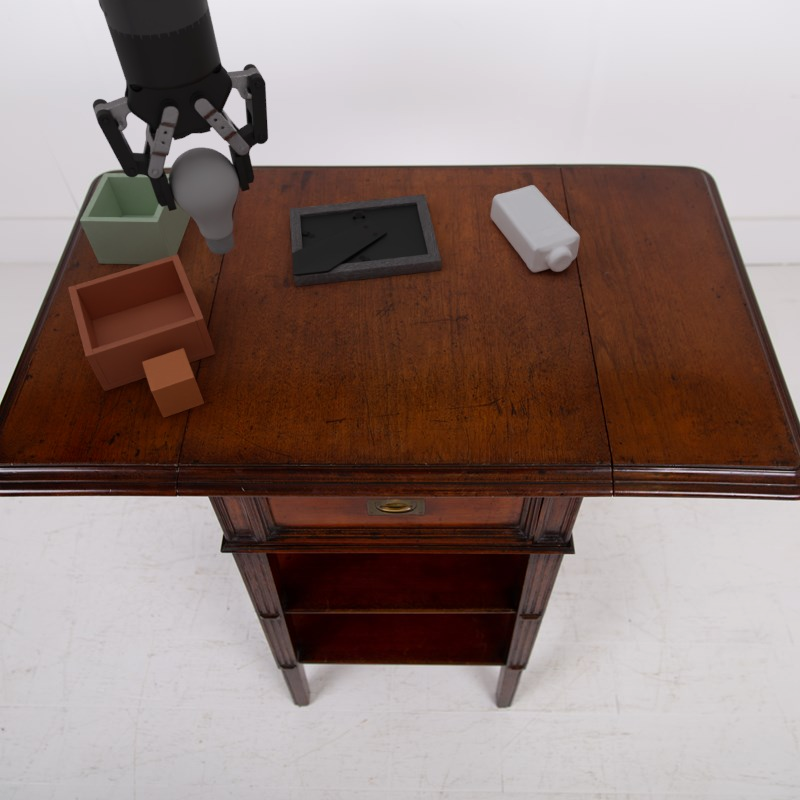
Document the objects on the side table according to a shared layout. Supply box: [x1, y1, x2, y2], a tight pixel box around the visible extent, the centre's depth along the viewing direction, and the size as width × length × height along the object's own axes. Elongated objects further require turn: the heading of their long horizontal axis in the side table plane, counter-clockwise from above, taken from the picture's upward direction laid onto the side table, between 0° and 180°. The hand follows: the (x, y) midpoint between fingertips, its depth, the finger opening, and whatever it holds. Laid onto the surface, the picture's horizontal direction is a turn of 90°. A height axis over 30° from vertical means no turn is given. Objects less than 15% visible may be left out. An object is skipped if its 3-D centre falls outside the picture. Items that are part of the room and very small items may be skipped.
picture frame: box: [289, 193, 442, 287], centre depth 96 cm, size 13×2×18 cm
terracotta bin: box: [67, 253, 216, 392], centre depth 85 cm, size 13×12×6 cm
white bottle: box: [490, 184, 581, 273], centre depth 94 cm, size 6×13×4 cm, turn 22°
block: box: [142, 348, 205, 418], centre depth 80 cm, size 4×4×4 cm
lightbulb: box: [168, 146, 240, 255], centre depth 70 cm, size 6×6×11 cm
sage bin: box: [79, 172, 191, 265], centre depth 96 cm, size 10×10×7 cm
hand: (207, 195), depth 69 cm, fingers closed on lightbulb, 6 cm apart
